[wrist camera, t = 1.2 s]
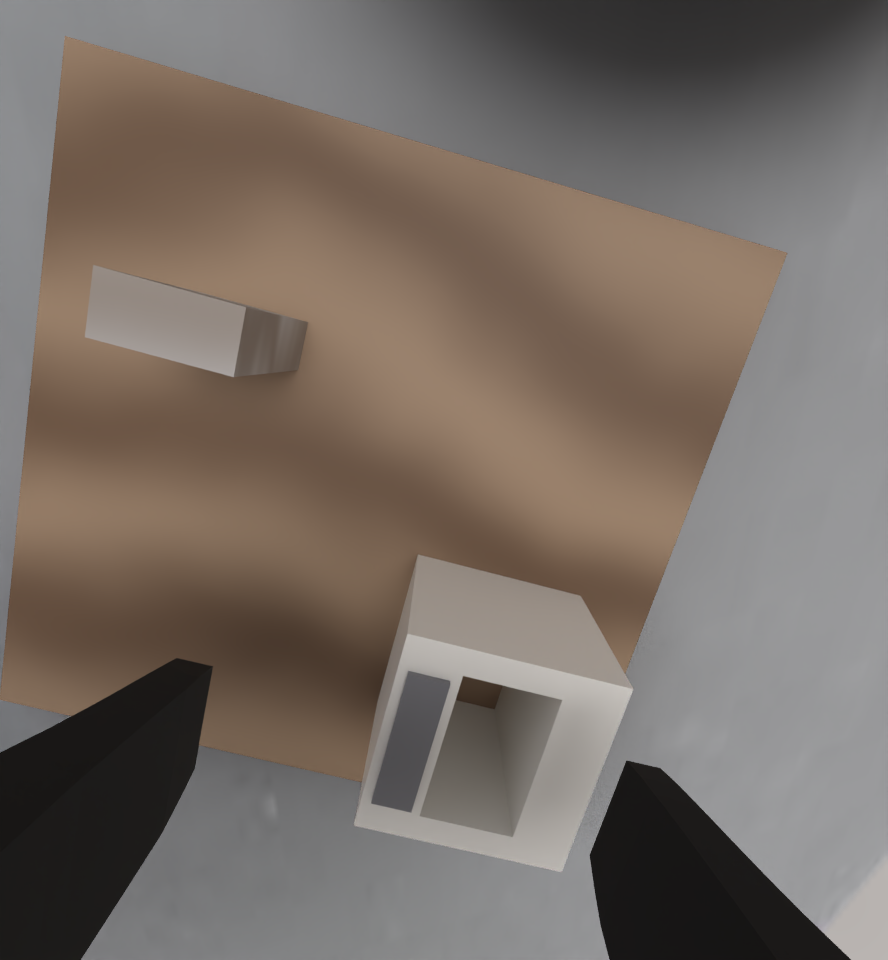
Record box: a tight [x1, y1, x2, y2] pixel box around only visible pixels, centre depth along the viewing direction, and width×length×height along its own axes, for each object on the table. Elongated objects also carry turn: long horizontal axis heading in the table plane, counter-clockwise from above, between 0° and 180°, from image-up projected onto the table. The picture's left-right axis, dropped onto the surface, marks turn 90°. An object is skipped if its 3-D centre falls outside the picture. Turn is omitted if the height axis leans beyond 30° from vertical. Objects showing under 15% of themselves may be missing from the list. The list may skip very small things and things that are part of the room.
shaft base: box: [0, 36, 787, 782], centre depth 15 cm, size 20×20×6 cm
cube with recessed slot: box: [354, 555, 633, 872], centre depth 15 cm, size 5×5×5 cm
